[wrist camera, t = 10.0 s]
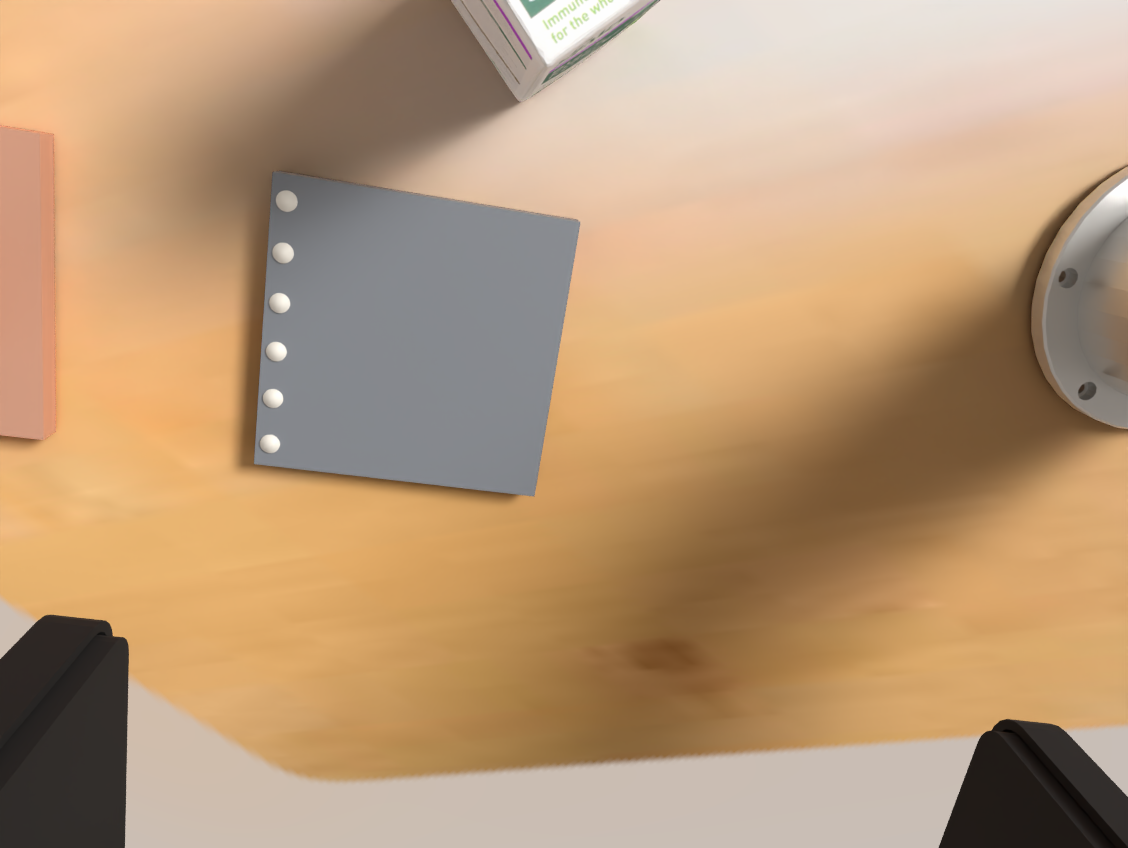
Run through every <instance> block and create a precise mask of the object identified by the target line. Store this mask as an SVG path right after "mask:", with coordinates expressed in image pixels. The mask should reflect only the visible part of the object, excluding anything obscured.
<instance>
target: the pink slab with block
mask: <svg viewBox="0 0 1128 848" xmlns="http://www.w3.org/2000/svg"><path fill="white" fill-rule="evenodd" d="M55 432H56V376H55V252H54V134H50V133H44V132H38V131H32V130H26V129H20V128H14V127H7V126H1V125H0V435H4V436H12V437H21V438H30V439H38V440H44V439H46V438H47V437H49V436H50V435H52V434H53V433H55Z"/></svg>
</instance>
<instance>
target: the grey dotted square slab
mask: <svg viewBox="0 0 1128 848" xmlns="http://www.w3.org/2000/svg"><path fill="white" fill-rule="evenodd" d="M579 227H580V222H579V221H578V220H576V219H570V218H564V217H557V216H551V215H545V214H539V213H533V212H527V211H521V210H515V209H509V208H503V207H496V206H490V205H484V204H478V203H472V202H466V201H460V200H454V199H448V198H442V197H436V196H429V195H423V194H417V193H411V192H405V191H399V190H393V189H387V188H381V187H375V186H369V185H362V184H356V183H350V182H344V181H338V180H332V179H326V178H320V177H314V176H308V175H302V174H295V173H289V172H283V171H275V172H273V174H272V190H271V205H270V221H269V237H268V252H267V268H266V284H265V299H264V315H263V331H262V346H261V362H260V378H259V393H258V409H257V425H256V440H255V456H254V464H259V465H267V466H276V467H285V468H293V469H302V470H310V471H319V472H328V473H336V474H345V475H354V476H362V477H371V478H380V479H388V480H397V481H406V482H414V483H423V484H432V485H440V486H449V487H457V488H466V489H475V490H483V491H492V492H501V493H509V494H518V495H527V496H534V495H535V489H536V483H537V477H538V471H539V466H540V460H541V454H542V448H543V442H544V436H545V430H546V424H547V418H548V412H549V406H550V400H551V394H552V388H553V382H554V376H555V370H556V364H557V358H558V352H559V346H560V340H561V335H562V329H563V323H564V317H565V311H566V305H567V299H568V293H569V287H570V281H571V275H572V269H573V263H574V257H575V251H576V245H577V239H578V233H579Z"/></svg>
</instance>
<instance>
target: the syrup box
mask: <svg viewBox="0 0 1128 848" xmlns="http://www.w3.org/2000/svg"><path fill="white" fill-rule="evenodd" d="M451 1H452V3H453V4H454V6H455V7H456V9H457V10H458V12H459V13H460V15H461V16H462V18H463V19H464V21H465V22H466V24H467V25H468V27H469V28H470V30H471V31H472V33H473V34H474V36H475V37H476V39H477V40H478V42H479V43H480V45H481V46H482V48H483V50H484V51H485V53H486V54H487V56H488V57H489V59H490V60H491V62H492V63H493V65H494V66H495V68H496V69H497V71H498V72H499V74H500V75H501V77H502V78H503V80H504V81H505V83H506V84H507V86H508V87H509V89H510V90H511V92H512V93H513V95H514V96H515V97H516V99H517V100H518V101H519V102H521V101H525V100H527V99H529V98H530V97H532V96H533V95H535V94H536V93H538V92H539V91H541V90H542V89H544V88H545V87H547V86H548V85H550V84H551V83H553V82H554V81H555V80H557V79H558V78H560V77H561V76H563V75H564V74H566V73H567V72H569V71H570V70H572V69H573V68H574V67H576V66H577V65H579V64H580V63H581V62H583V61H584V60H586V59H587V58H588V57H590V56H591V55H592V54H594V53H595V52H596V51H598V50H599V49H600V48H602V47H603V46H604V45H606V44H607V43H608V42H610V41H611V40H612V39H614V38H615V37H616V36H618V35H619V34H620V33H621V32H623V31H624V30H625V29H626V28H628V27H629V26H630V25H632V24H633V23H635V22H636V21H637V20H638V19H639V18H640V17H642V16H643V15H644V14H645V13H646V12H647V11H648V10H649V9H651V8H652V7H653V6H654V5H655V4H656V3H658V2H659V1H660V0H451Z"/></svg>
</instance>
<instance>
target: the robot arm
mask: <svg viewBox="0 0 1128 848" xmlns="http://www.w3.org/2000/svg"><path fill="white" fill-rule="evenodd" d="M1031 333H1032V338H1033V343H1034V349H1035V354H1036V357H1037V360H1038V362H1039V364H1040V367H1041V369H1042V372H1043V374H1044V376H1045V378H1046V379H1047V381H1048V382H1049V383H1050V385H1051V386H1052V388H1053V389H1054V390H1055V392H1056V393H1057V395H1058V396H1060V397H1061V398H1062V399H1063V400H1064V401H1065V402H1067V403H1068V404H1069V405H1070V406H1071V407H1072V408H1074V409H1075V410H1077V411H1079V412H1081V413H1083V414H1085V415H1087V416H1089V417H1091V418H1093V419H1095V420H1097V421H1100V422H1103V423H1105V424H1108V425H1111V426H1113V427H1116V428H1123V429H1128V166H1127V167H1125V168H1124V169H1122V170H1121V171H1119V172H1118V173H1116V174H1115V175H1113V176H1112V177H1110V178H1109V179H1107V180H1106V181H1104V182H1103V183H1101V184H1100V185H1099V186H1098V187H1097V188H1096V189H1095V190H1094V191H1093V192H1092V193H1090V194H1089V195H1088V196H1087V197H1086V198H1085V199H1084V200H1083V201H1082V202H1081V203H1080V204H1079V205H1078V206H1077V208H1076V209H1075V210H1074V211H1073V213H1072V214H1071V215H1070V216H1069V218H1068V219H1067V220H1066V221H1065V223H1064V224H1063V225H1062V226H1061V228H1060V230H1059V232H1058V233H1057V235H1056V237H1055V239H1054V240H1053V242H1052V244H1051V246H1050V248H1049V249H1048V251H1047V253H1046V256H1045V258H1044V261H1043V264H1042V266H1041V269H1040V272H1039V274H1038V277H1037V280H1036V286H1035V291H1034V296H1033V301H1032V314H1031ZM128 665H129V648H128V642H127V640H126V639H125V638H123V637H114V636H113V635H112V629H111V626H110V624H109V623H108V622H107V621H103V620H94V619H85V618H76V617H66V616H57V615H46V616H44V617H42V618H41V619H40V620H38V621H37V622H36V623H35V624H34V625H33V626H32V627H31V628H30V629H29V631H27V632H26V634H25V635H24V636H23V637H22V638H21V639H20V640H19V641H18V642H17V643H16V644H15V645H14V646H13V647H12V648H11V649H10V650H9V651H8V652H7V653H6V654H5V655H4V656H3V657H2V658H1V659H0V848H125V813H126V763H127V714H128V713H127V712H128ZM939 848H1128V797H1127V796H1126V795H1125V794H1124V793H1123V792H1122V790H1121V789H1120V788H1119V787H1118V786H1117V785H1116V784H1115V783H1114V782H1113V781H1112V780H1111V779H1110V778H1109V777H1108V776H1107V775H1106V774H1105V773H1104V772H1103V770H1102V769H1101V768H1100V767H1099V766H1098V765H1097V764H1096V763H1095V762H1094V761H1093V760H1092V759H1091V758H1090V757H1089V756H1088V755H1087V754H1086V753H1085V752H1084V750H1083V749H1082V748H1081V747H1080V746H1079V745H1078V744H1077V743H1076V742H1075V741H1074V740H1073V739H1072V738H1071V737H1070V736H1069V735H1068V734H1067V733H1066V732H1065V731H1064V730H1063V729H1061V728H1060V727H1059V726H1056V725H1053V724H1047V723H1038V722H1029V721H1019V720H1010V719H1006V720H1002V721H999V722H998V723H997V724H996V725H995V726H994V727H993V729H992V731H987V732H985V733H984V734H983V735H982V736H981V737H980V739H979V741H978V744H977V746H976V749H975V752H974V754H973V757H972V760H971V762H970V765H969V768H968V770H967V773H966V776H965V778H964V781H963V784H962V786H961V789H960V792H959V794H958V797H957V800H956V803H955V805H954V808H953V810H952V813H951V816H950V819H949V821H948V824H947V827H946V829H945V832H944V835H943V837H942V840H941V843H940V845H939Z"/></svg>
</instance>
